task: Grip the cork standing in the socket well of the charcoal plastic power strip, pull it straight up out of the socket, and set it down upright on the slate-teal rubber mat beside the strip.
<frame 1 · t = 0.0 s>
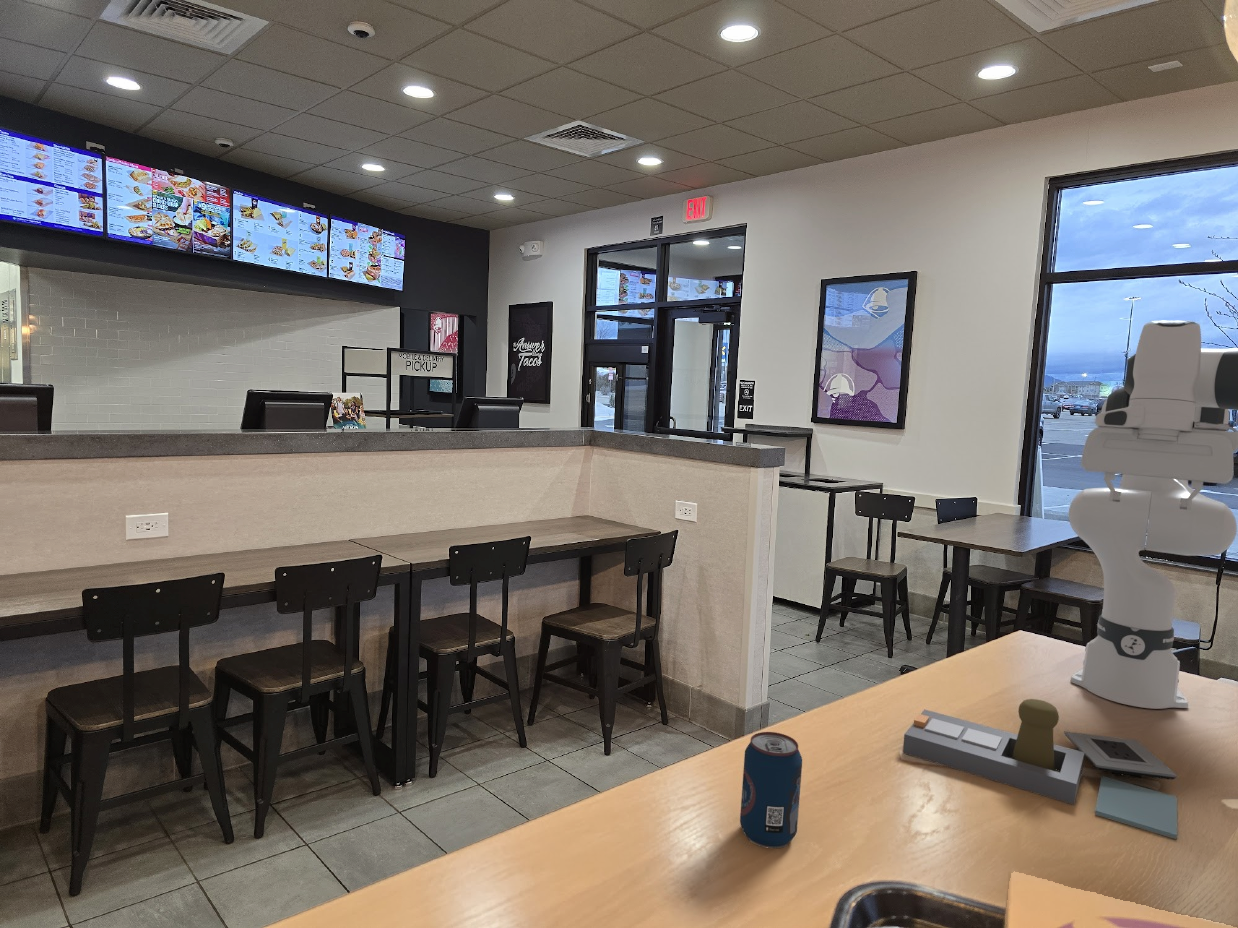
hand: (1149, 505, 126), 39 cm above the table, tool pointing down, fingers open, 8 cm apart
rubber mat: (1136, 807, 108), on the table
electrical outlet: (1115, 766, 119), on the table, touching rubber mat
soda can: (767, 836, 97), on the table
power strip: (991, 761, 119), on the table
cork: (1031, 775, 116), resting in power strip
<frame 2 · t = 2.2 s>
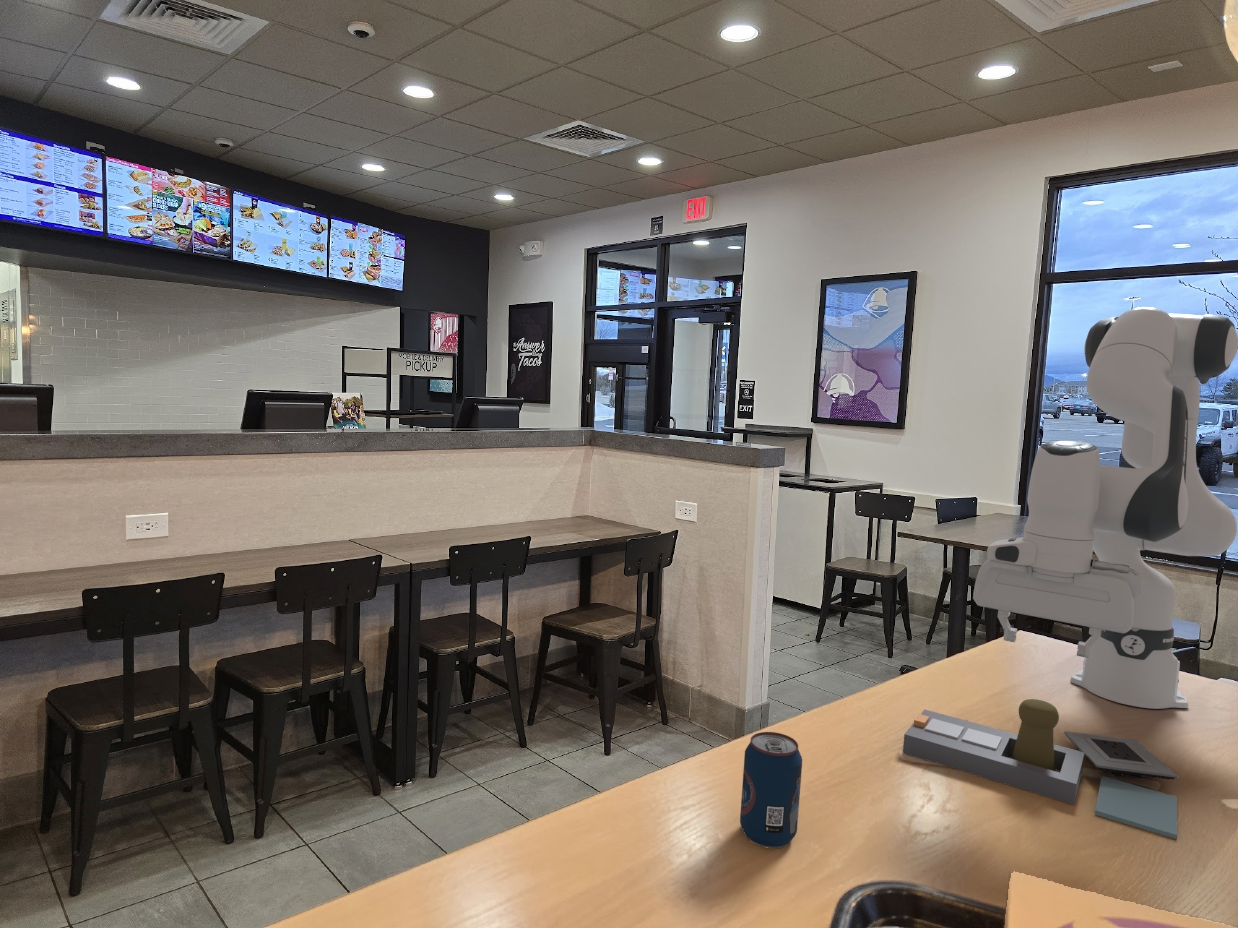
hand: (1045, 648, 114), 19 cm above the table, tool pointing down, fingers open, 8 cm apart
nothing on the table moved.
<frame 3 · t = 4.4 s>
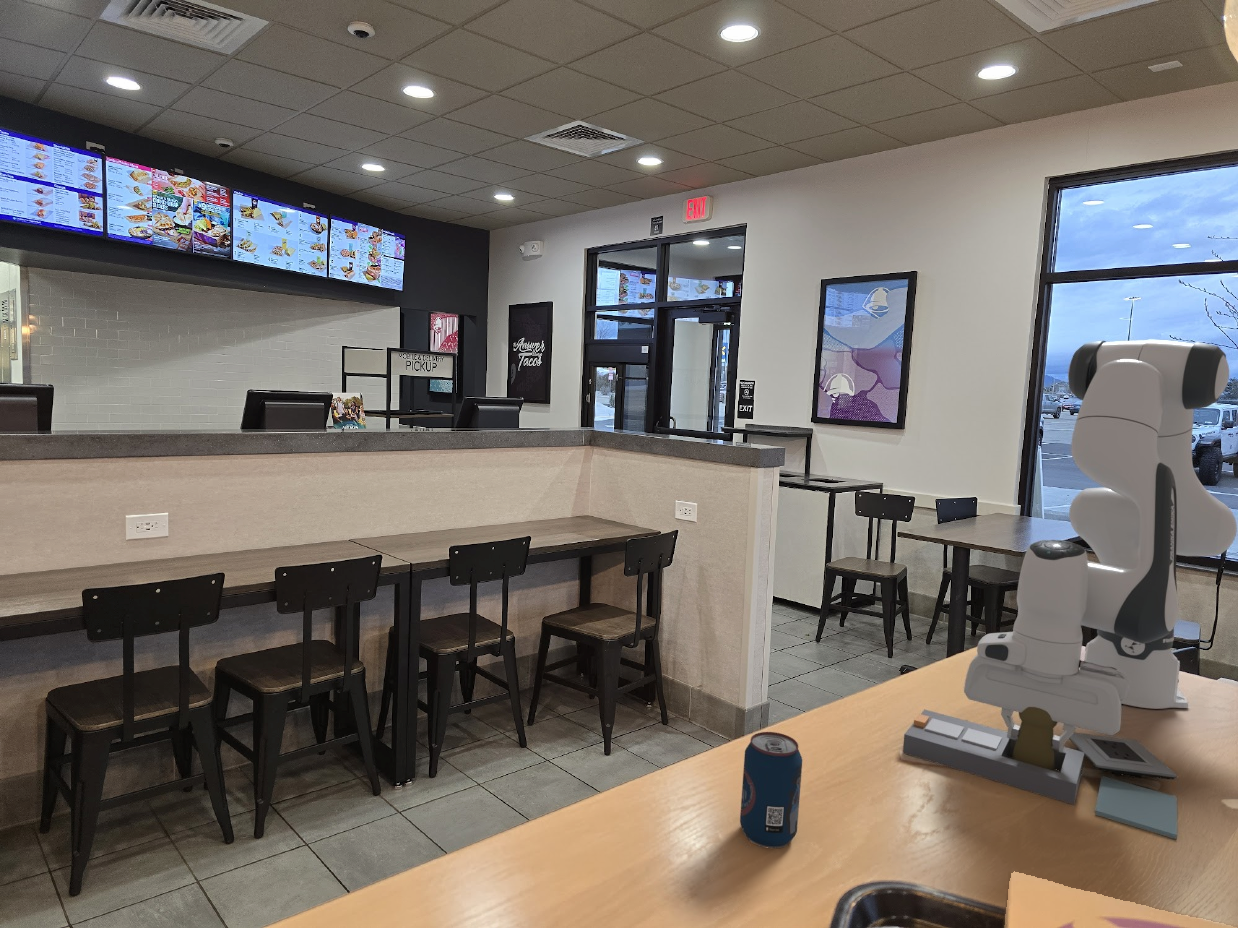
hand: (1035, 743, 115), 5 cm above the table, tool pointing down, fingers closed on cork, 4 cm apart
cork: (1031, 775, 116), resting in power strip, touching gripper
everything else where it was.
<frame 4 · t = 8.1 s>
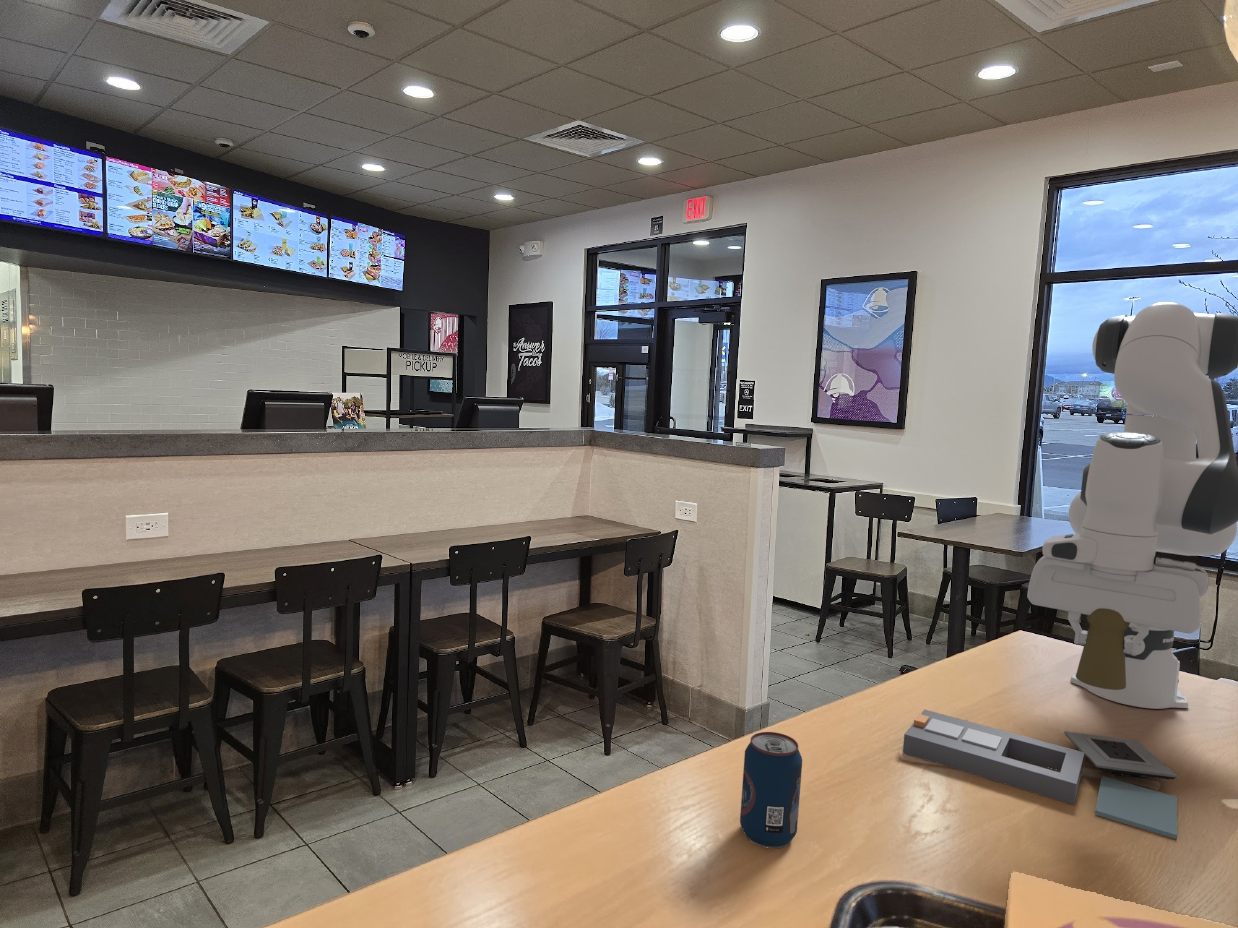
hand: (1104, 648, 109), 21 cm above the table, tool pointing down, fingers closed on cork, 4 cm apart
cork: (1100, 682, 110), point 16 cm above the table, touching gripper
everything else where it was.
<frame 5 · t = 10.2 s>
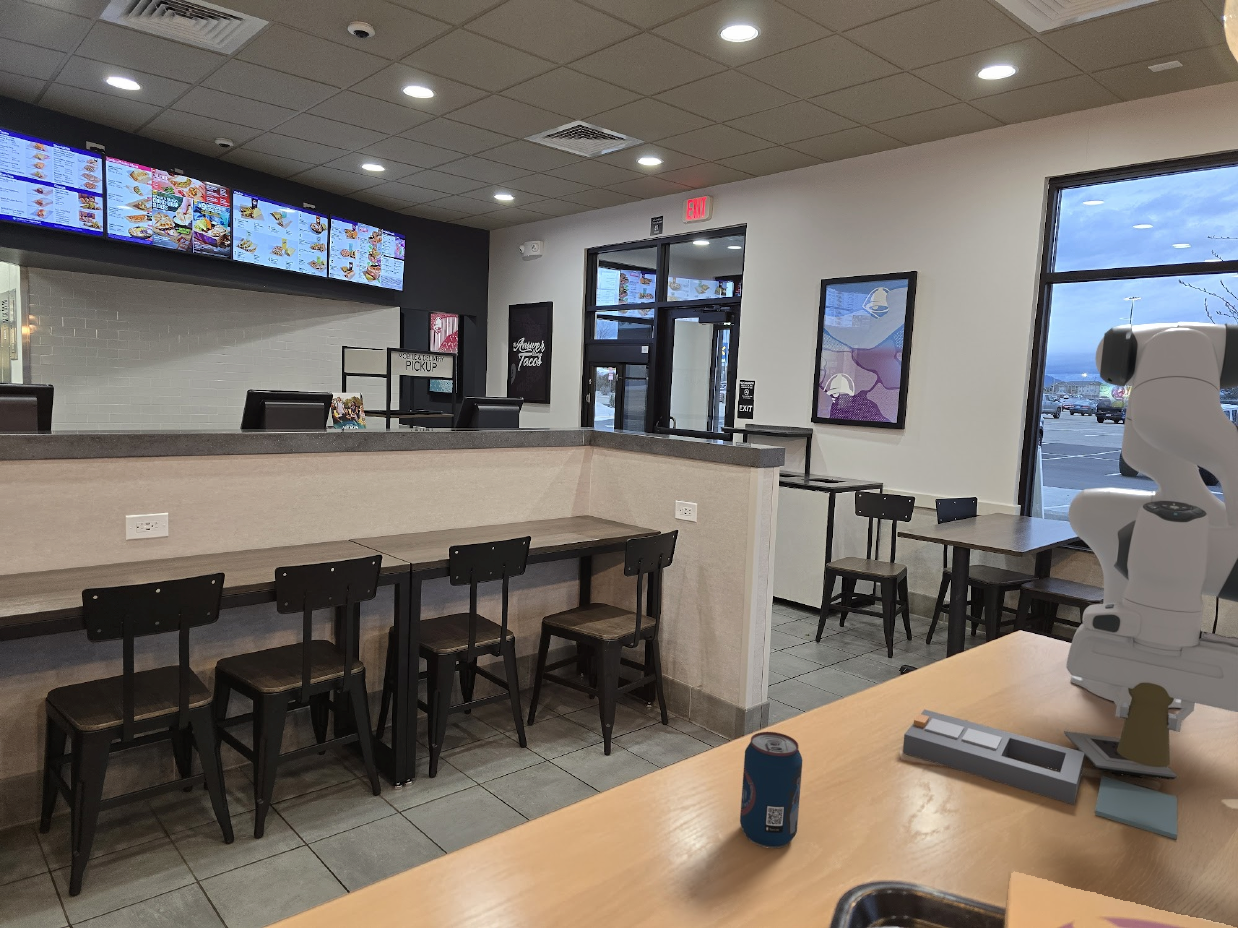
hand: (1147, 722, 106), 12 cm above the table, tool pointing down, fingers closed on cork, 4 cm apart
cork: (1142, 757, 107), point 7 cm above the table, touching gripper
everything else where it was.
when the fingers open (6 cm above the table, at t = 12.1 s): cork drops 1 cm, resting on rubber mat.
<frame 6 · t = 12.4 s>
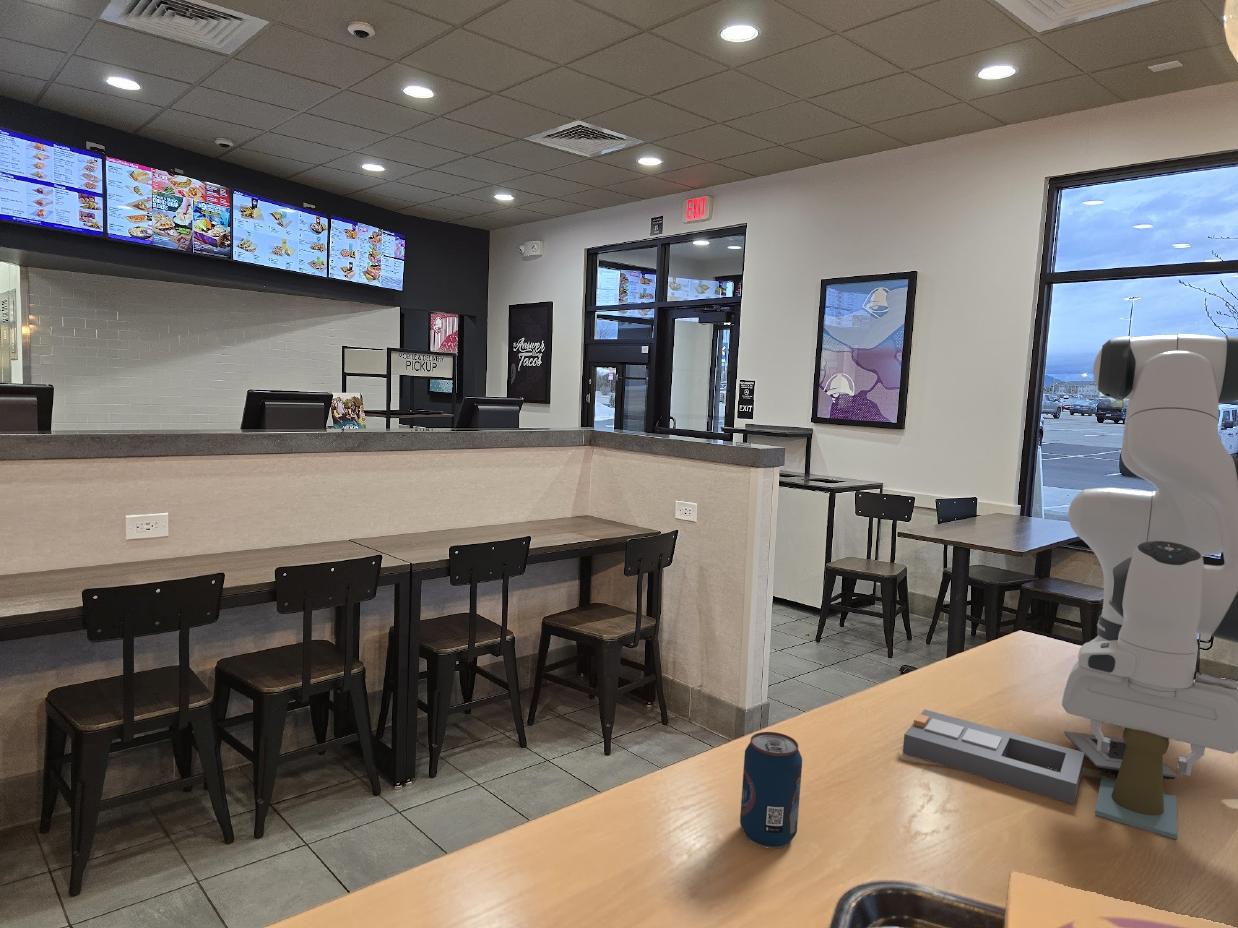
hand: (1142, 761, 107), 7 cm above the table, tool pointing down, fingers open, 8 cm apart
cork: (1137, 803, 108), resting on rubber mat
everything else where it was.
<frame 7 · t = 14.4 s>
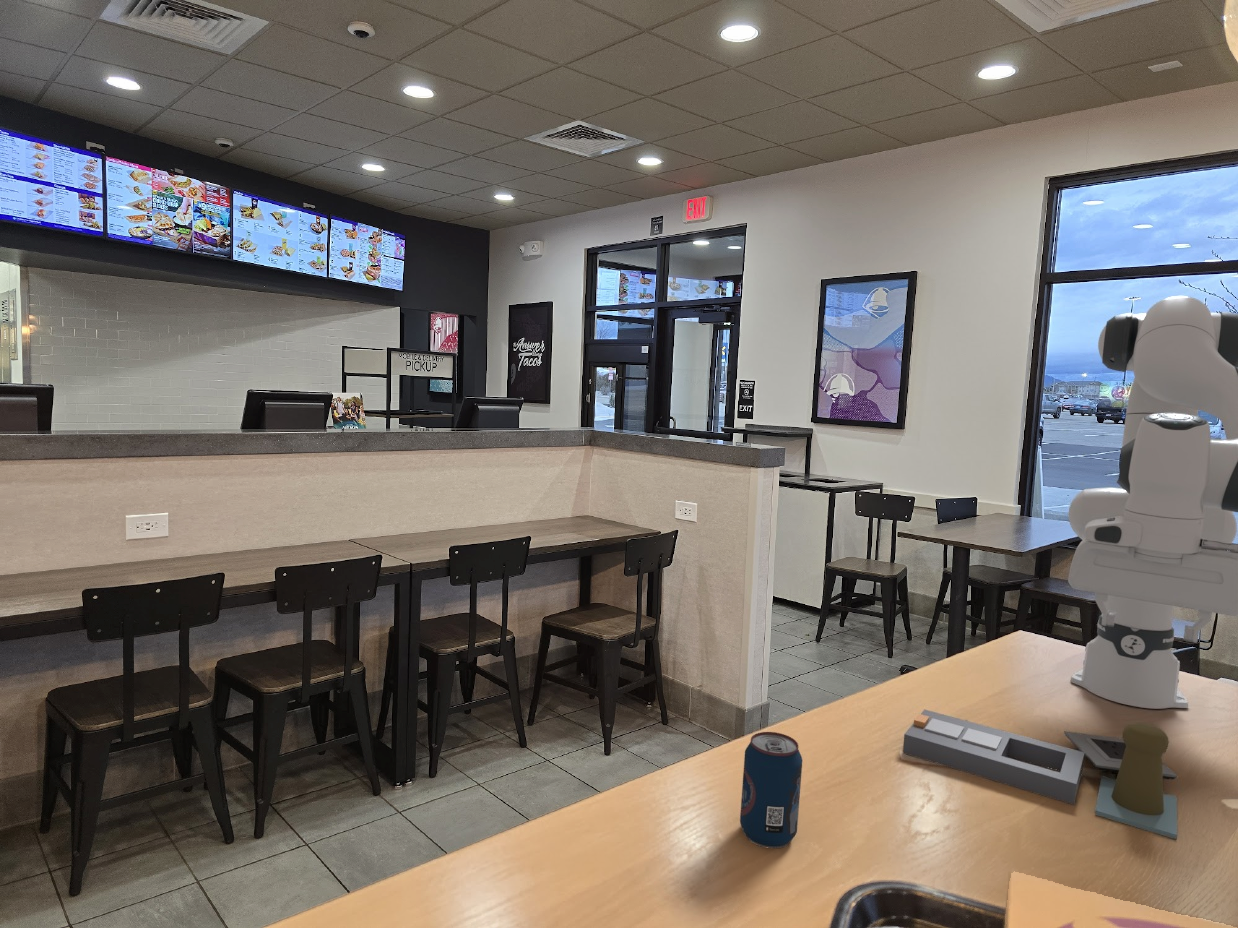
hand: (1147, 632, 108), 24 cm above the table, tool pointing down, fingers open, 8 cm apart
nothing on the table moved.
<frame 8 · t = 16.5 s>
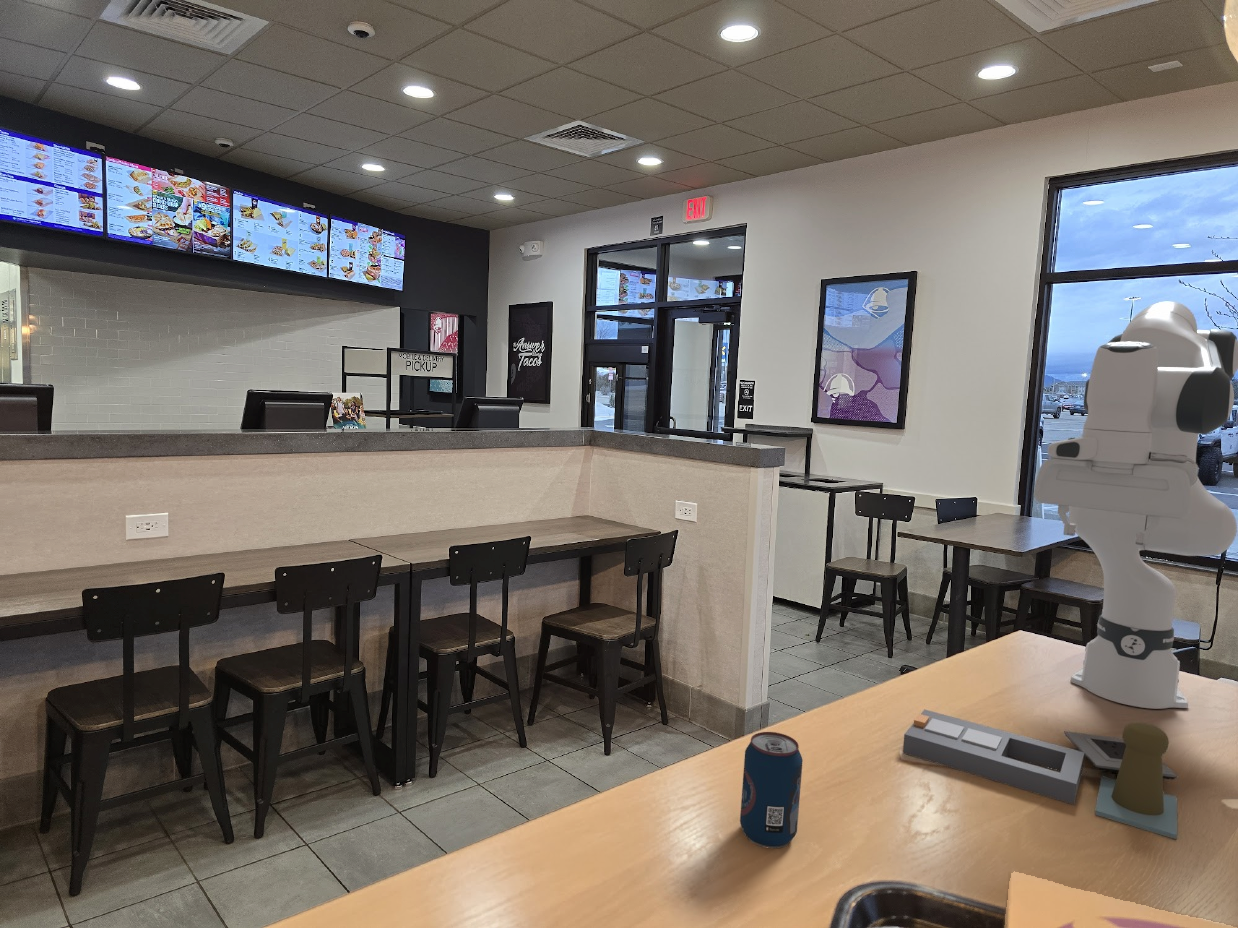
hand: (1104, 539, 120), 34 cm above the table, tool pointing down, fingers open, 8 cm apart
nothing on the table moved.
at the end: cork inside the target area (0.1 cm from its centre), resting on rubber mat; cork touching rubber mat; cork tilted 0° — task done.
